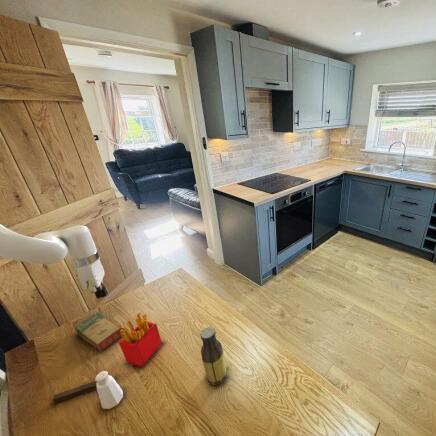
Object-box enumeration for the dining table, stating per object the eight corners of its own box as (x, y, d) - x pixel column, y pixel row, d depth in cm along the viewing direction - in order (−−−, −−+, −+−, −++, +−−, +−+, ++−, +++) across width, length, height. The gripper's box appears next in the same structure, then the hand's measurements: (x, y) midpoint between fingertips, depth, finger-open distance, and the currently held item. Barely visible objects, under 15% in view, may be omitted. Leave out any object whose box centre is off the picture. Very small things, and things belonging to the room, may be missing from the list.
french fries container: (125, 362, 80) (113, 332, 74) (147, 339, 88) (138, 311, 82) (142, 368, 78) (131, 338, 72) (163, 344, 86) (154, 315, 81)
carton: (100, 352, 83) (96, 344, 81) (77, 334, 89) (72, 326, 88) (125, 334, 90) (121, 326, 88) (101, 318, 96) (98, 311, 94)
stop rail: (54, 403, 68) (52, 399, 68) (57, 398, 70) (54, 394, 69) (112, 383, 74) (111, 380, 73) (113, 379, 75) (112, 375, 74)
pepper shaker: (107, 414, 66) (94, 389, 62) (97, 403, 69) (84, 379, 64) (127, 395, 71) (117, 371, 66) (117, 386, 73) (107, 362, 68)
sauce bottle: (227, 364, 80) (221, 321, 72) (226, 383, 74) (219, 339, 66) (207, 368, 78) (198, 324, 70) (205, 388, 73) (195, 343, 65)
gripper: (80, 250, 92) (96, 287, 100) (65, 272, 80) (84, 312, 88) (103, 246, 95) (117, 282, 103) (92, 266, 83) (109, 306, 90)
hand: (102, 296), depth 95 cm, fingers closed
